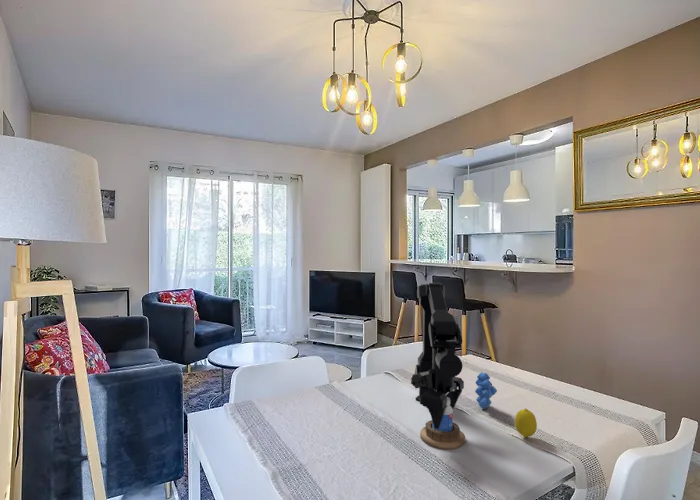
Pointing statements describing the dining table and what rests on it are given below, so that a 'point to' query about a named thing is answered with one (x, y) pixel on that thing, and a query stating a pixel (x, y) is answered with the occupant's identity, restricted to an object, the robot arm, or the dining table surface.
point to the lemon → (525, 423)
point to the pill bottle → (446, 419)
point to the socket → (442, 437)
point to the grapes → (484, 390)
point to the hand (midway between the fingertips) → (442, 421)
